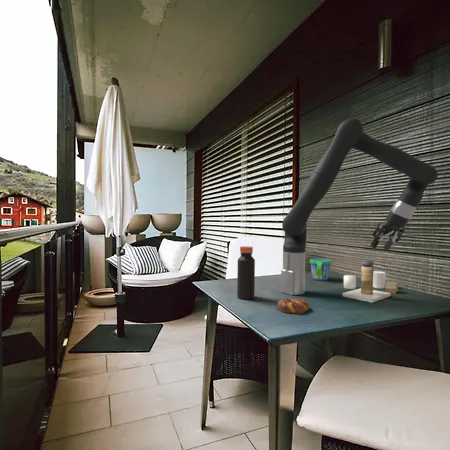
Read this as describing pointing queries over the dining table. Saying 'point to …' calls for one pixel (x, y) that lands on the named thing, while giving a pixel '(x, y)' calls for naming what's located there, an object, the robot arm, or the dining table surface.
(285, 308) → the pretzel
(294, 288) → the robot arm
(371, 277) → the pepper mill
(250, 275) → the bottle
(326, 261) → the snack cup
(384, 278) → the white tapered cylinder
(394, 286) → the wooden block
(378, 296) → the stone tile
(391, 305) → the dining table surface
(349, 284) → the white rounded cylinder
